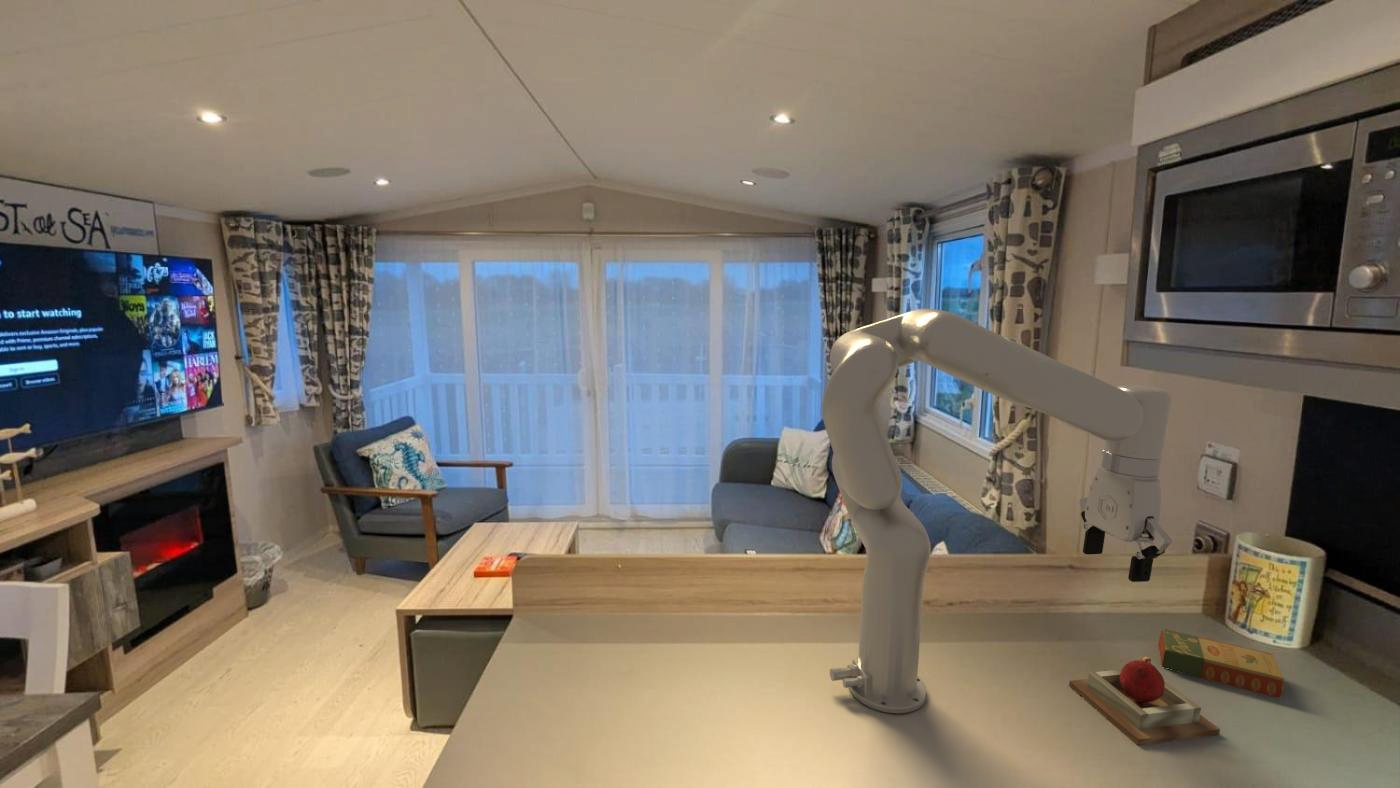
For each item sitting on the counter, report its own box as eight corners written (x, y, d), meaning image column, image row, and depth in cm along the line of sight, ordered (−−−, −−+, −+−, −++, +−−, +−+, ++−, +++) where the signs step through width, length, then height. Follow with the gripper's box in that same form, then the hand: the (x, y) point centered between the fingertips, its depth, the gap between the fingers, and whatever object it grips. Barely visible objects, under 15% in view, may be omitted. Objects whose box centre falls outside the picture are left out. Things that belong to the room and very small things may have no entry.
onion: (1147, 719, 98) (1156, 673, 96) (1109, 696, 102) (1116, 653, 101) (1167, 707, 100) (1176, 662, 98) (1129, 685, 105) (1136, 642, 103)
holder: (1137, 745, 93) (1140, 724, 93) (1069, 686, 107) (1071, 667, 106) (1219, 734, 95) (1222, 714, 95) (1141, 677, 109) (1144, 659, 108)
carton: (1280, 701, 104) (1285, 677, 103) (1160, 669, 112) (1164, 647, 111) (1269, 674, 111) (1273, 652, 110) (1157, 646, 119) (1160, 625, 118)
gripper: (1069, 449, 107) (1056, 545, 110) (1154, 482, 90) (1136, 593, 93) (1110, 449, 108) (1095, 543, 111) (1201, 481, 91) (1181, 592, 94)
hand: (1114, 566), depth 102 cm, fingers open, 9 cm apart
